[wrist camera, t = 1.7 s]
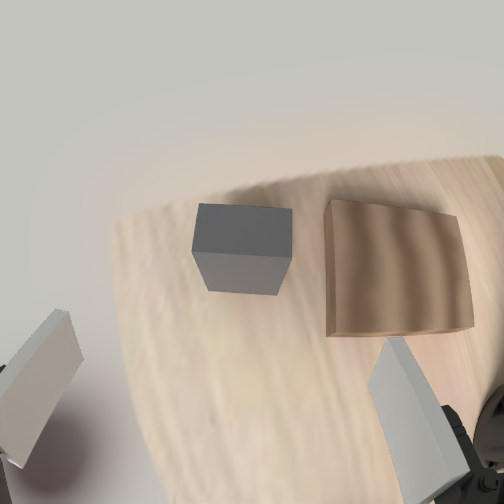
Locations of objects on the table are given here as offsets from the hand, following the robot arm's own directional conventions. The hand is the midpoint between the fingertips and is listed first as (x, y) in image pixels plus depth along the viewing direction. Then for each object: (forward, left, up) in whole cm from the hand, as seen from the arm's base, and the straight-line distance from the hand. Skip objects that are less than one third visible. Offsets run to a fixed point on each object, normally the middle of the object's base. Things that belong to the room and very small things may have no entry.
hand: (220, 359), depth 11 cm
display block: (-20, -12, -22) cm, 32 cm away
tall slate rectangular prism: (0, -11, -22) cm, 24 cm away
